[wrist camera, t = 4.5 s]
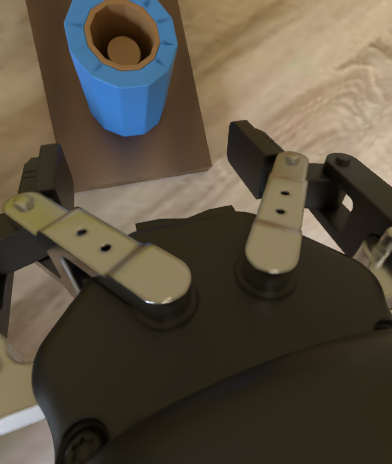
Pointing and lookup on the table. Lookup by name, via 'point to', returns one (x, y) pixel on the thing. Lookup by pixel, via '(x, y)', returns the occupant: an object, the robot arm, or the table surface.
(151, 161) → the tape rack
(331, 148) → the table surface
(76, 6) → the tape roll
